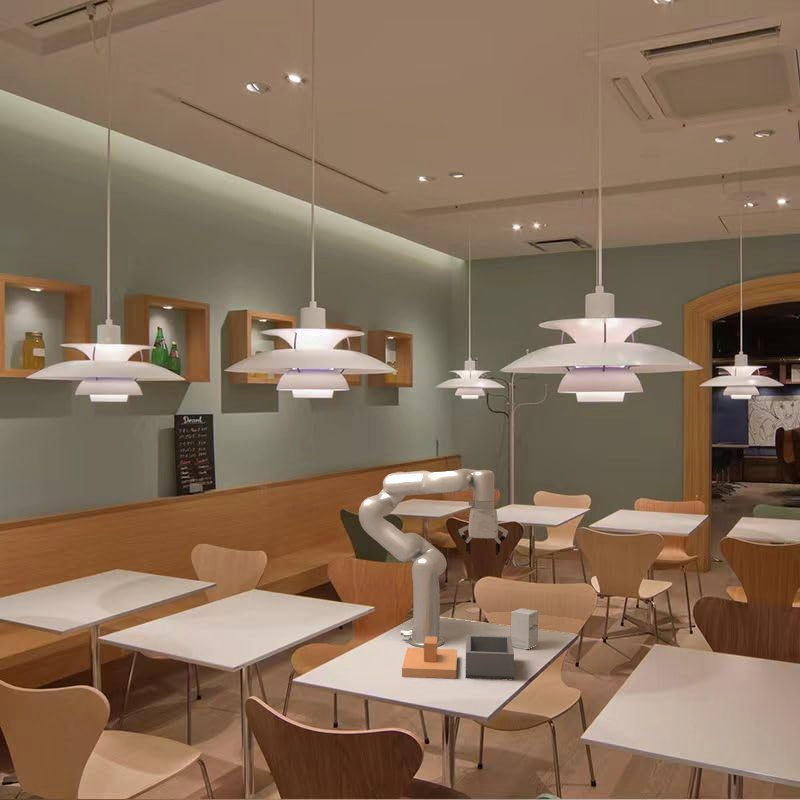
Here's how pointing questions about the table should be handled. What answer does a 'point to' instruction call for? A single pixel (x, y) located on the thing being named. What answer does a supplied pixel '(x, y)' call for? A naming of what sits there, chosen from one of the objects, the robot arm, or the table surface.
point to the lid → (430, 661)
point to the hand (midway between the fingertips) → (483, 554)
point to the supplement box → (524, 628)
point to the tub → (489, 657)
